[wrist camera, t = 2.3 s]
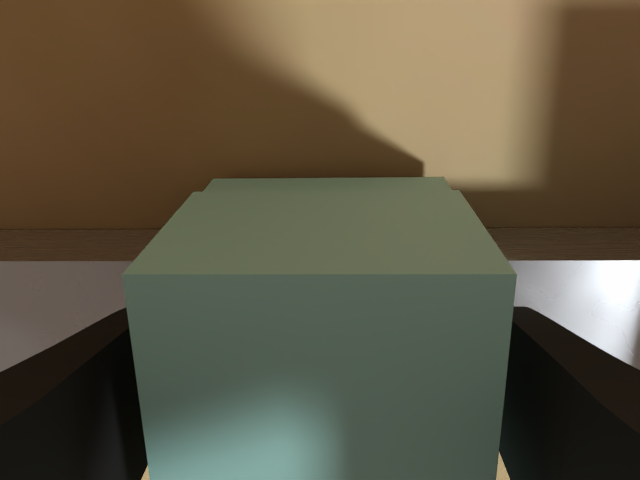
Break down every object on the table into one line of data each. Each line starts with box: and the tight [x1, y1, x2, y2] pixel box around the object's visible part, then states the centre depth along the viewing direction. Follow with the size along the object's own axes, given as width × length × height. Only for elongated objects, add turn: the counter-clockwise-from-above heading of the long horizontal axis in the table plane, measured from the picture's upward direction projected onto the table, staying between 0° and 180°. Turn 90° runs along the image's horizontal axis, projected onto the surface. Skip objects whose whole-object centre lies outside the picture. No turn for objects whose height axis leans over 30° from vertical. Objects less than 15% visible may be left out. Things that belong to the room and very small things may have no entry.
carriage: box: [122, 177, 517, 480], centre depth 11 cm, size 6×5×6 cm
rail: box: [0, 228, 640, 372], centre depth 14 cm, size 3×22×2 cm, turn 91°
